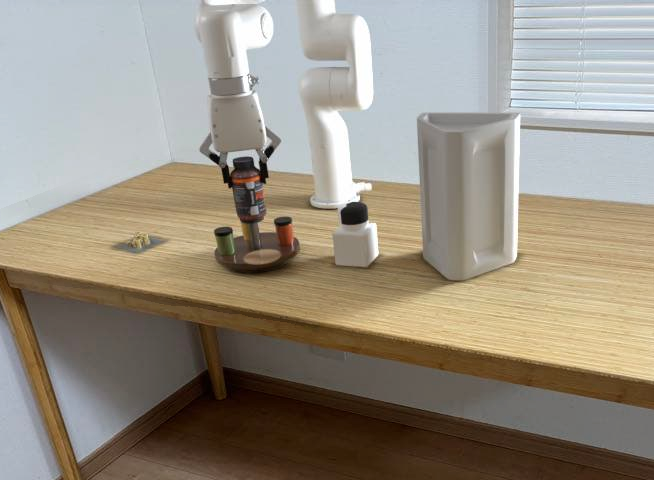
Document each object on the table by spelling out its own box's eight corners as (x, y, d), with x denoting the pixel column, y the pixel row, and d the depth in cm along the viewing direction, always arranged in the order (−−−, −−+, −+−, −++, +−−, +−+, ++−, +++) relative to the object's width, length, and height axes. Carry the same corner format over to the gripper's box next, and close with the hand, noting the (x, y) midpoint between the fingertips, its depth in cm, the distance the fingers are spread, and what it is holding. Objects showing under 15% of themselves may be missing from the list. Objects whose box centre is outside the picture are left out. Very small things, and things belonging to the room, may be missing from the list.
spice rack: (210, 246, 169) (199, 193, 163) (290, 232, 173) (282, 180, 167) (222, 277, 154) (211, 220, 147) (310, 261, 158) (302, 205, 152)
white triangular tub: (408, 277, 152) (400, 131, 137) (428, 249, 164) (422, 112, 149) (504, 283, 147) (506, 132, 132) (517, 254, 159) (520, 112, 144)
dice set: (140, 238, 181) (138, 230, 180) (154, 242, 179) (153, 234, 178) (123, 245, 178) (121, 237, 177) (137, 249, 175) (135, 241, 174)
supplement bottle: (264, 220, 151) (255, 162, 145) (234, 222, 151) (224, 164, 145) (269, 210, 156) (260, 153, 150) (240, 212, 156) (230, 155, 150)
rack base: (286, 245, 171) (285, 239, 171) (292, 267, 161) (291, 260, 160) (227, 254, 169) (226, 247, 169) (230, 276, 159) (228, 269, 158)
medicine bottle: (379, 255, 163) (374, 199, 157) (367, 268, 158) (362, 211, 151) (348, 252, 165) (342, 197, 159) (335, 265, 160) (328, 209, 153)
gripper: (275, 77, 145) (288, 173, 154) (182, 87, 142) (201, 184, 152) (279, 84, 139) (293, 184, 148) (182, 95, 136) (202, 195, 146)
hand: (246, 183), depth 150 cm, fingers closed on supplement bottle, 6 cm apart
